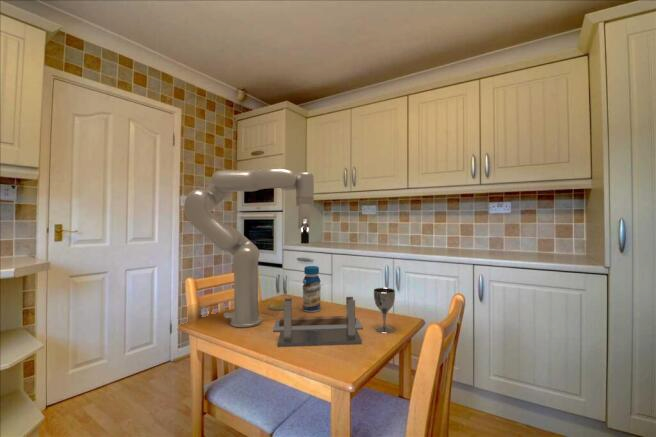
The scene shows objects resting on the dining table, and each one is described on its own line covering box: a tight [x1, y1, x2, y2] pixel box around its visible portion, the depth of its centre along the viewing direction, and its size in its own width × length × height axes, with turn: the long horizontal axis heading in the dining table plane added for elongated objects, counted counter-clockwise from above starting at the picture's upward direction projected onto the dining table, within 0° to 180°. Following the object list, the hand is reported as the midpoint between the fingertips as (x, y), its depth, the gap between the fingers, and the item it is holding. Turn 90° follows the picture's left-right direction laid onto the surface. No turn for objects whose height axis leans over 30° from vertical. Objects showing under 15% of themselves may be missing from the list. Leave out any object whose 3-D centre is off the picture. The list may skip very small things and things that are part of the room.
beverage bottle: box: [302, 265, 322, 313], centre depth 141 cm, size 8×8×20 cm
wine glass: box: [373, 287, 396, 334], centre depth 115 cm, size 8×8×15 cm
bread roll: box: [267, 299, 285, 311], centre depth 144 cm, size 8×9×4 cm
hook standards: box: [277, 296, 363, 348], centre depth 106 cm, size 28×10×14 cm, turn 94°
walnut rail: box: [278, 315, 357, 326], centre depth 120 cm, size 30×3×2 cm, turn 94°
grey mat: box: [272, 317, 364, 333], centre depth 120 cm, size 34×11×1 cm, turn 94°
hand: (305, 242), depth 128 cm, fingers open, 9 cm apart
